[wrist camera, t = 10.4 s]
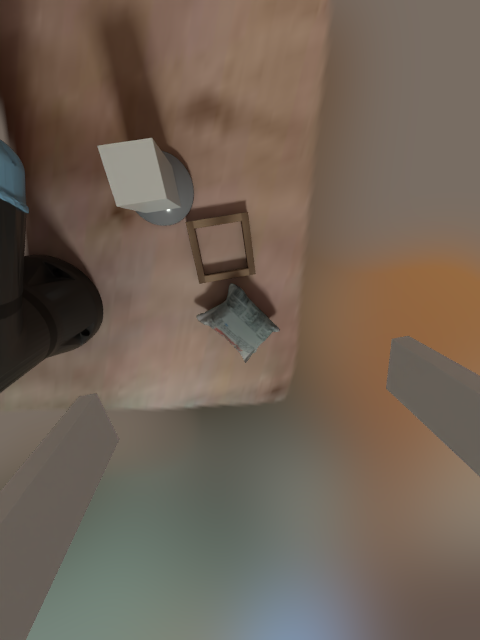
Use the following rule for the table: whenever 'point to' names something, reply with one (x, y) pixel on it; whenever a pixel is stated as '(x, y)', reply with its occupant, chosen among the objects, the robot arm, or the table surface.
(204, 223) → the walnut holder
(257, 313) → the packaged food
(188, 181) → the grey disc
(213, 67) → the table surface
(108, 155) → the grey block
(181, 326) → the table surface
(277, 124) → the table surface
